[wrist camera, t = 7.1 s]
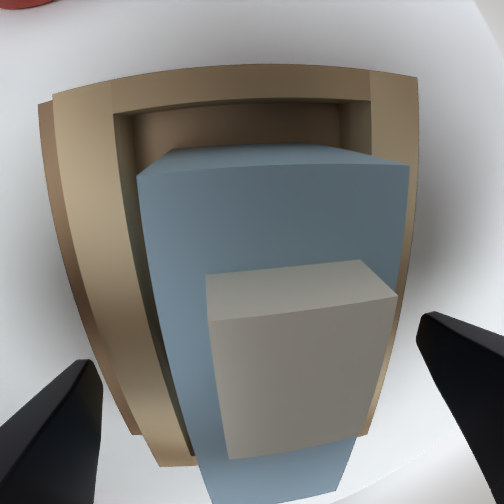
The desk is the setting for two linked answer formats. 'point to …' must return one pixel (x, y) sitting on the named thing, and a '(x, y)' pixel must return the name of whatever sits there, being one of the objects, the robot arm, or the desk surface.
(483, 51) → the desk surface
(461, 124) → the desk surface
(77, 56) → the desk surface
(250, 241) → the blue slab
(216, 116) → the jig
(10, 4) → the stacking bear
